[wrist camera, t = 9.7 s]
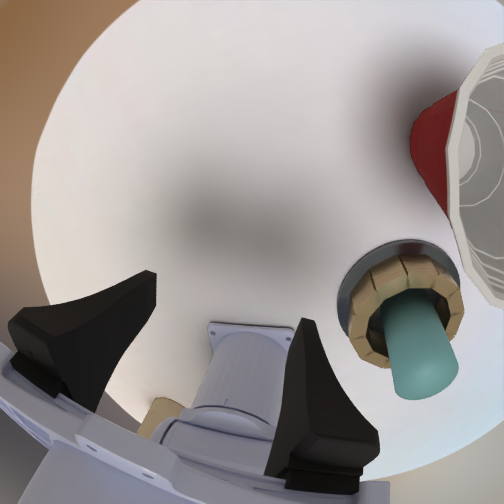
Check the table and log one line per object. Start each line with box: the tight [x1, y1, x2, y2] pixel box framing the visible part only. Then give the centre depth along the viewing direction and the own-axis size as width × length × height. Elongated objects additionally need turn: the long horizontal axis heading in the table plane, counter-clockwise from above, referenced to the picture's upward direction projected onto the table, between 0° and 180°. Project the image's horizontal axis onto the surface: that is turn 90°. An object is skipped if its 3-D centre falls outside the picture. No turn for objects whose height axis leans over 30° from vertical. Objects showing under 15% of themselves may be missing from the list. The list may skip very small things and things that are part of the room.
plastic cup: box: [410, 43, 504, 309], centre depth 11 cm, size 11×11×12 cm
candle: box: [137, 398, 184, 439], centre depth 32 cm, size 6×6×10 cm
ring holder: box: [337, 240, 464, 368], centre depth 20 cm, size 11×11×3 cm
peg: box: [379, 288, 459, 400], centre depth 18 cm, size 4×4×8 cm
